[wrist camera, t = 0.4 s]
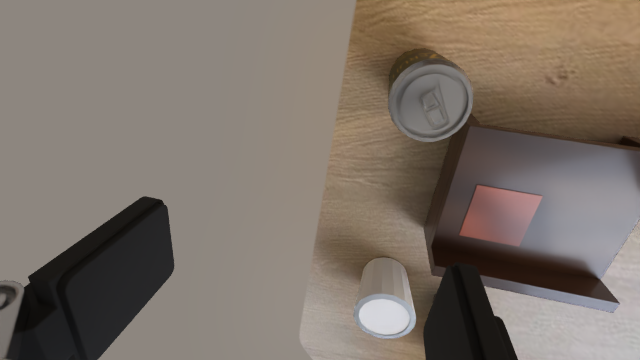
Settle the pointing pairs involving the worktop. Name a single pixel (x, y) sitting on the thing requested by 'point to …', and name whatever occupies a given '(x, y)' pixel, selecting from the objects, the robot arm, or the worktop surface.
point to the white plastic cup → (384, 300)
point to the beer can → (428, 95)
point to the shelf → (534, 211)
